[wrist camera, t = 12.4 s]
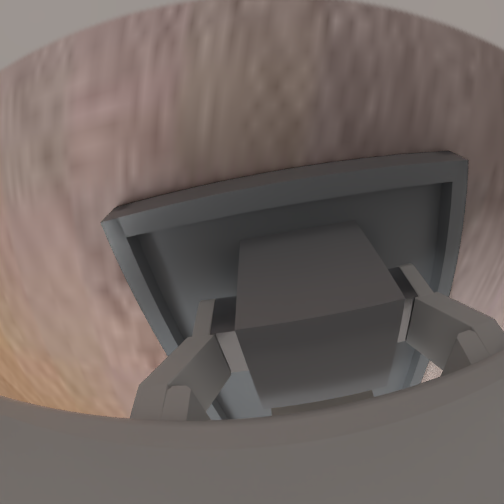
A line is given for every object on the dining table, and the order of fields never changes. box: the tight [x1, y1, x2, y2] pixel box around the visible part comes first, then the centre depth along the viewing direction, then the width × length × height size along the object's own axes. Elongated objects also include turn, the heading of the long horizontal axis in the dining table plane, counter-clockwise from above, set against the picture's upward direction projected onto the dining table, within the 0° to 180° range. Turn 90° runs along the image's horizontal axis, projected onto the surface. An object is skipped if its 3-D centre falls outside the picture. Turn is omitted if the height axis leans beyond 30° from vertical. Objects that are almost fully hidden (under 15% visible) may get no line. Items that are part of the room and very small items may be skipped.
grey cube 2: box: [235, 220, 405, 409], centre depth 9 cm, size 4×4×4 cm
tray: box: [101, 151, 468, 420], centre depth 13 cm, size 18×12×1 cm, turn 11°
